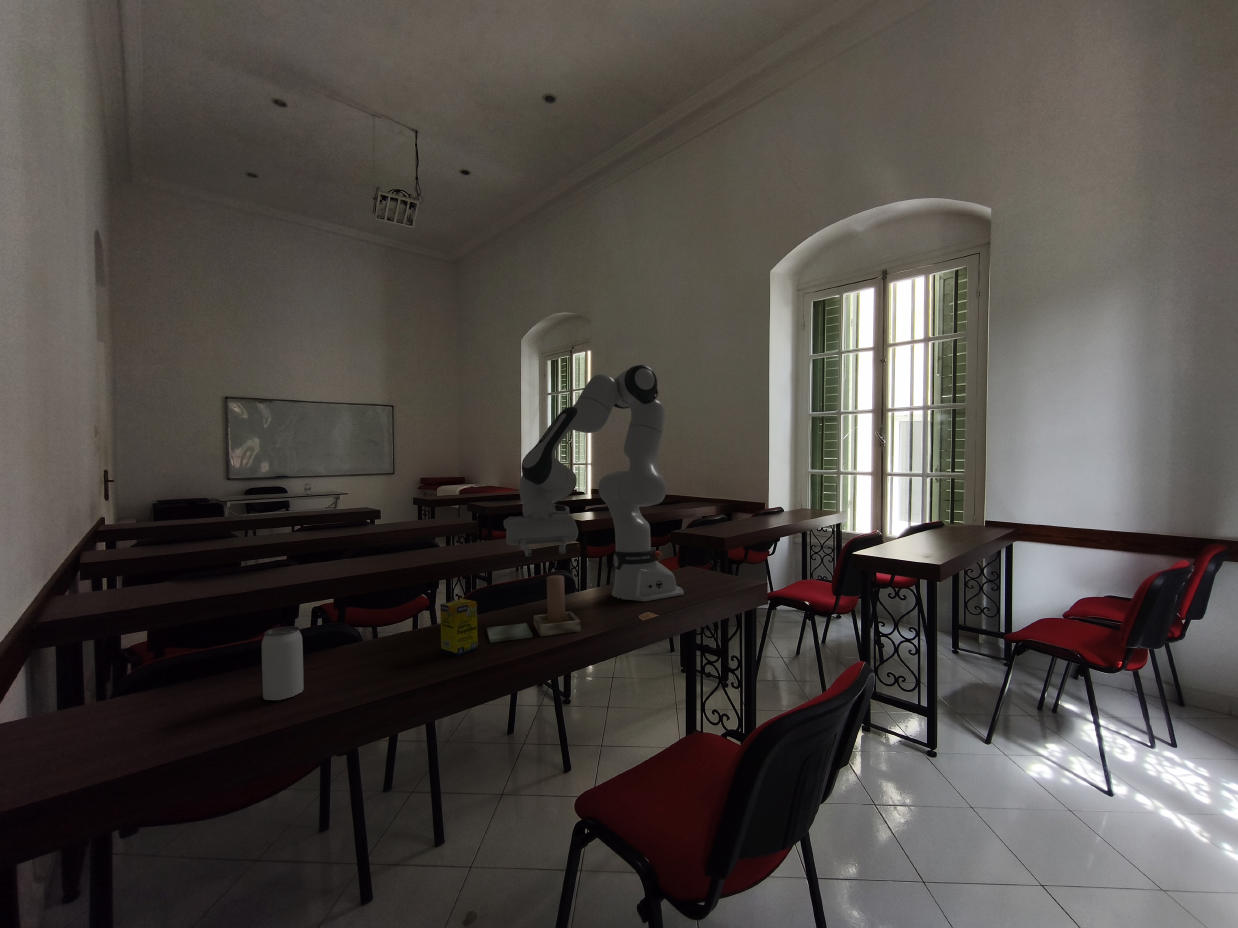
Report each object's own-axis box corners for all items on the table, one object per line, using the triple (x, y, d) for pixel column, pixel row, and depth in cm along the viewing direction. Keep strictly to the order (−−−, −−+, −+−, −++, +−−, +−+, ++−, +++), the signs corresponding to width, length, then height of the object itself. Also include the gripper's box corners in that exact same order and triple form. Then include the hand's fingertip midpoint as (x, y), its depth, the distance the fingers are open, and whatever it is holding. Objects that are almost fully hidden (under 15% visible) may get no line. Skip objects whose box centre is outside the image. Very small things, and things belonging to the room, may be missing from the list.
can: (281, 687, 106) (280, 625, 106) (311, 688, 105) (310, 625, 105) (254, 701, 100) (252, 635, 100) (285, 703, 99) (283, 636, 99)
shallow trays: (571, 620, 146) (571, 611, 146) (580, 631, 137) (580, 621, 137) (486, 630, 139) (486, 620, 139) (490, 642, 130) (490, 631, 130)
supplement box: (457, 656, 121) (455, 607, 121) (440, 651, 124) (439, 603, 124) (478, 649, 125) (477, 601, 125) (462, 644, 129) (461, 598, 129)
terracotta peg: (563, 624, 143) (562, 574, 143) (567, 629, 138) (565, 577, 138) (546, 626, 141) (545, 576, 141) (550, 631, 137) (548, 579, 137)
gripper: (503, 510, 155) (508, 549, 146) (573, 506, 162) (583, 543, 152) (502, 524, 160) (506, 563, 150) (570, 520, 166) (579, 557, 157)
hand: (545, 553), depth 151 cm, fingers open, 8 cm apart
